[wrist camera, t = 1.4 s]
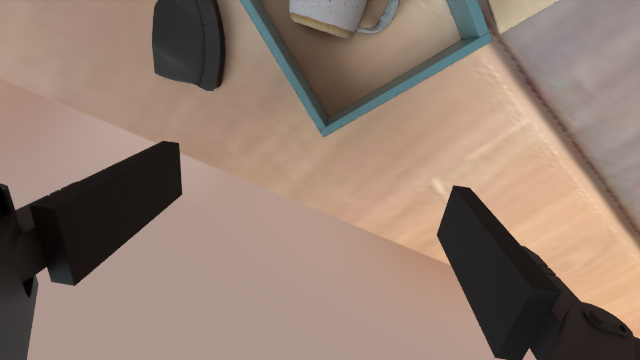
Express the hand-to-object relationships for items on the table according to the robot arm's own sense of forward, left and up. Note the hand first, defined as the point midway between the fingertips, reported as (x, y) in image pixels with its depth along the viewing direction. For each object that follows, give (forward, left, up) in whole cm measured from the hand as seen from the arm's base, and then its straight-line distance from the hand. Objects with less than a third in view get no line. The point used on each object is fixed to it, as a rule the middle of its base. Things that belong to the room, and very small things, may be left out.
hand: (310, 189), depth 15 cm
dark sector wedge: (-16, -10, -25) cm, 31 cm away
